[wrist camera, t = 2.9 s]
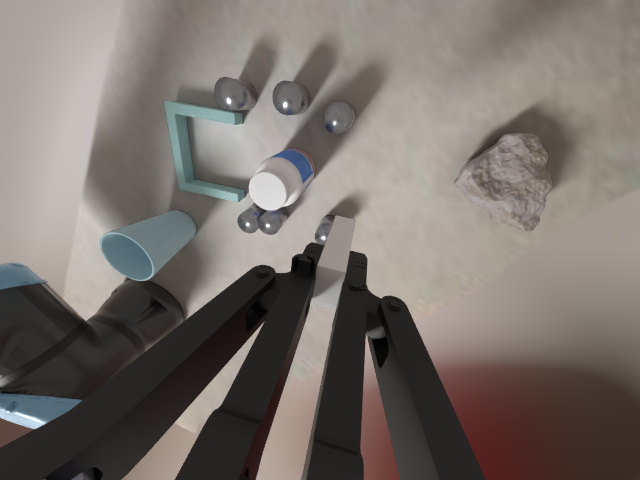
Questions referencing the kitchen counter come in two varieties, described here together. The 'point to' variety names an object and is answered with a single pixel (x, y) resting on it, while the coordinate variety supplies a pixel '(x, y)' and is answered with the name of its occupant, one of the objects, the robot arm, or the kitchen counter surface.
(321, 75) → the kitchen counter surface
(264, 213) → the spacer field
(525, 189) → the stone
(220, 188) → the teal bay
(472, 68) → the kitchen counter surface
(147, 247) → the cup
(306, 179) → the pill bottle
